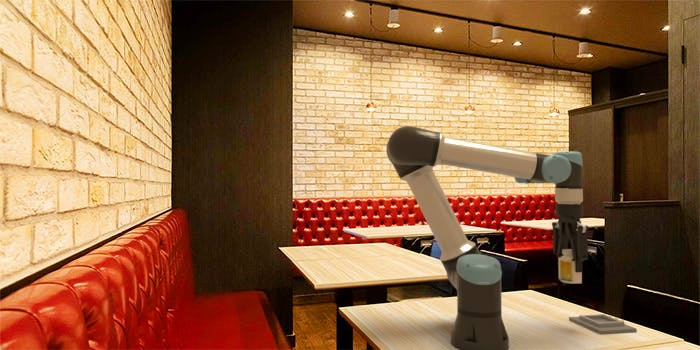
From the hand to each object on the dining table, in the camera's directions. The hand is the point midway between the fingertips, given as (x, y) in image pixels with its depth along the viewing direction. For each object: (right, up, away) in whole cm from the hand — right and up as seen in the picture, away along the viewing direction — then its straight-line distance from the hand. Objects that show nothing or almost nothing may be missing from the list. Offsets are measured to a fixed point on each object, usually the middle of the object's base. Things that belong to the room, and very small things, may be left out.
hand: (569, 280), depth 136 cm
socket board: (+11, -15, +4) cm, 19 cm away
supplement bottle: (0, -1, 0) cm, 1 cm away
